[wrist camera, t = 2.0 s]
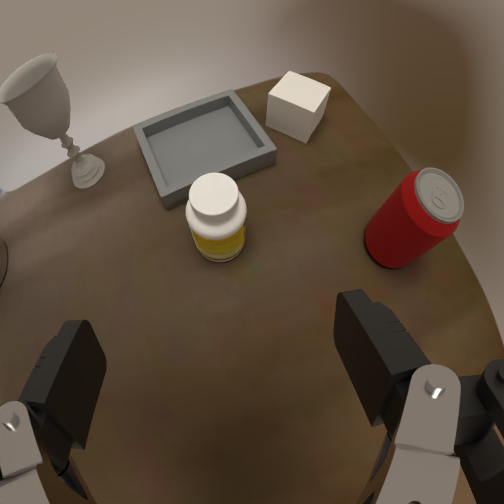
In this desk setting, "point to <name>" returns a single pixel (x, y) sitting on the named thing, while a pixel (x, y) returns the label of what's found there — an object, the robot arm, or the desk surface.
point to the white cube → (296, 106)
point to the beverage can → (414, 218)
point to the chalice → (48, 111)
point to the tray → (203, 144)
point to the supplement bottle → (217, 217)
